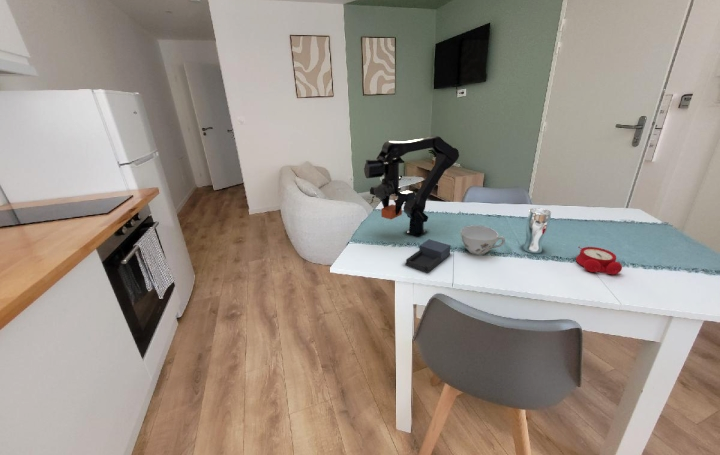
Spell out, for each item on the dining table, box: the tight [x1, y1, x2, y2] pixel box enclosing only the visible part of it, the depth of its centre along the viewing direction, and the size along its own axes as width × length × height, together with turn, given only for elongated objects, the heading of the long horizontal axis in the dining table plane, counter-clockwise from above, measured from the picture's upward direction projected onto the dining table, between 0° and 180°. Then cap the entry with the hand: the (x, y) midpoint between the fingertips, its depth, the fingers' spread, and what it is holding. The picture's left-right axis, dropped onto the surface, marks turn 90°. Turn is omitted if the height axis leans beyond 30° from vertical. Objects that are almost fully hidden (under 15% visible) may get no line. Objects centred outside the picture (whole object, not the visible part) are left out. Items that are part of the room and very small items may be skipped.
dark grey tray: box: [404, 238, 452, 274], centre depth 102 cm, size 16×9×4 cm, turn 138°
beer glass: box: [522, 207, 552, 254], centre depth 104 cm, size 7×7×15 cm
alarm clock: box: [575, 246, 623, 275], centre depth 93 cm, size 10×6×15 cm
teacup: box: [460, 224, 506, 256], centre depth 105 cm, size 15×12×8 cm
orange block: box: [380, 204, 403, 220], centre depth 118 cm, size 7×5×4 cm
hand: (391, 213), depth 118 cm, fingers closed on orange block, 5 cm apart
